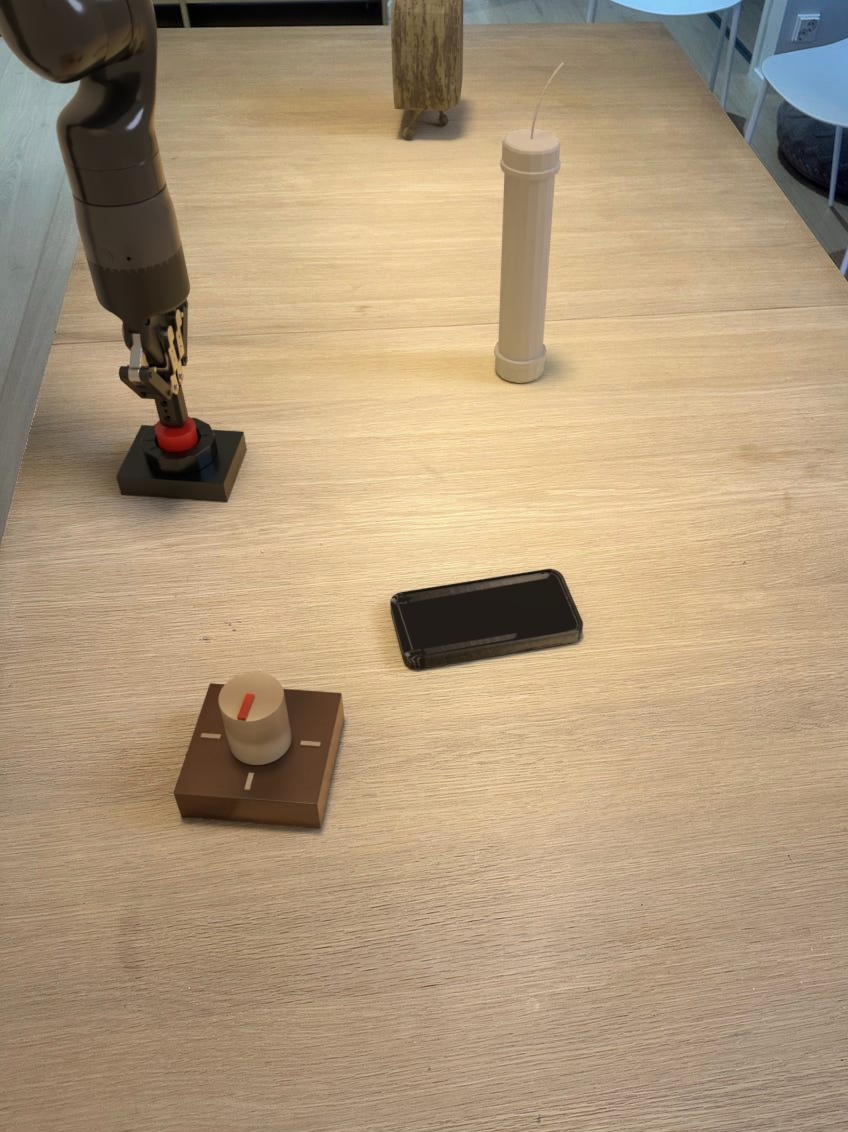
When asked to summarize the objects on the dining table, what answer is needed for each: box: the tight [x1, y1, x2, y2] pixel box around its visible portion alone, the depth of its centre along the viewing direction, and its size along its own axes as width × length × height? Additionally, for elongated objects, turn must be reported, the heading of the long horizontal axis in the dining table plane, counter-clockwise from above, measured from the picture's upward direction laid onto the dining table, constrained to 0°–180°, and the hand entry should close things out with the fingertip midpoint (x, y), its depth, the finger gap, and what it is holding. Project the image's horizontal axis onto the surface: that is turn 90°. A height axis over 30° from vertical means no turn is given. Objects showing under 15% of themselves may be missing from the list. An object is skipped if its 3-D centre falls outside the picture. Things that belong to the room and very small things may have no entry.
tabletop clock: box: [390, 0, 464, 140], centre depth 148 cm, size 14×9×25 cm, turn 178°
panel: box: [172, 682, 345, 829], centre depth 77 cm, size 10×10×3 cm
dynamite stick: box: [493, 61, 565, 384], centre depth 103 cm, size 6×6×30 cm
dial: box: [218, 671, 292, 765], centre depth 74 cm, size 4×4×5 cm
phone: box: [389, 568, 584, 670], centre depth 87 cm, size 8×1×15 cm
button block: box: [115, 417, 248, 503], centre depth 99 cm, size 10×8×4 cm
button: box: [154, 415, 198, 452], centre depth 97 cm, size 4×4×2 cm
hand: (175, 422), depth 97 cm, fingers closed
